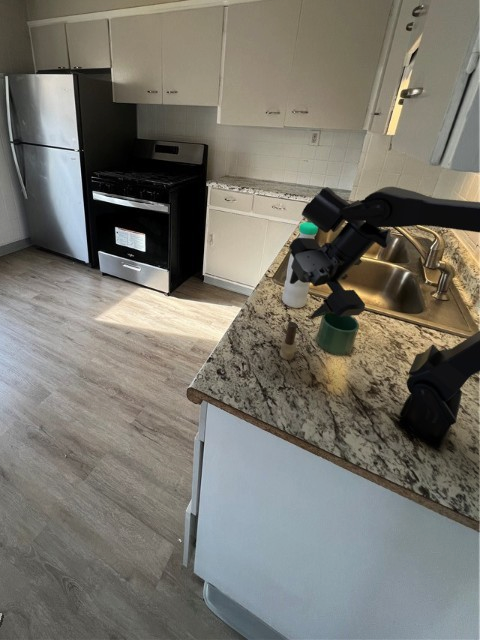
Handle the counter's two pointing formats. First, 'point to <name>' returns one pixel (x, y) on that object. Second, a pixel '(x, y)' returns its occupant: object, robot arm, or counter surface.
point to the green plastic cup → (337, 333)
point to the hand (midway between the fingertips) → (301, 299)
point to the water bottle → (298, 291)
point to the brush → (289, 342)
